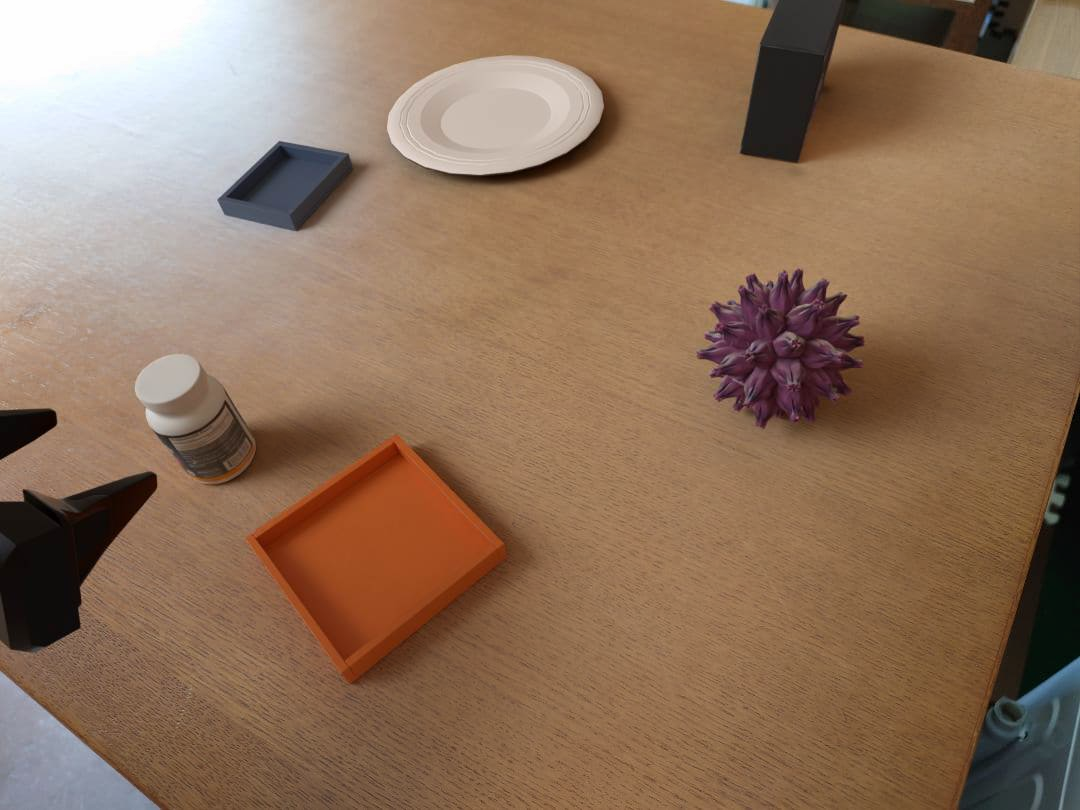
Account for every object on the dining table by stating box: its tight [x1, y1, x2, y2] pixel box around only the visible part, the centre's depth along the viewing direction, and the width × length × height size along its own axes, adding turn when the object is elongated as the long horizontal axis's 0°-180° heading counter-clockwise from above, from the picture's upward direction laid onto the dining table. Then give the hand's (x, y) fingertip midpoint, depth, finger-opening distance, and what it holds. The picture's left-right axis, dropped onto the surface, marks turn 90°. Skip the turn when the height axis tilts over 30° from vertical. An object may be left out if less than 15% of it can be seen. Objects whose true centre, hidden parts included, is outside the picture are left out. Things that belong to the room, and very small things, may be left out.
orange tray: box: [244, 433, 508, 685], centre depth 55 cm, size 13×13×2 cm
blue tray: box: [217, 140, 354, 232], centre depth 84 cm, size 11×9×2 cm
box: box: [739, 0, 846, 163], centre depth 81 cm, size 17×7×12 cm, turn 158°
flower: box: [696, 268, 866, 430], centre depth 57 cm, size 12×12×12 cm
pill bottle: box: [134, 353, 257, 485], centre depth 59 cm, size 6×6×10 cm
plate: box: [386, 54, 605, 177], centre depth 89 cm, size 25×25×2 cm
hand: (103, 446), depth 44 cm, fingers open, 9 cm apart
